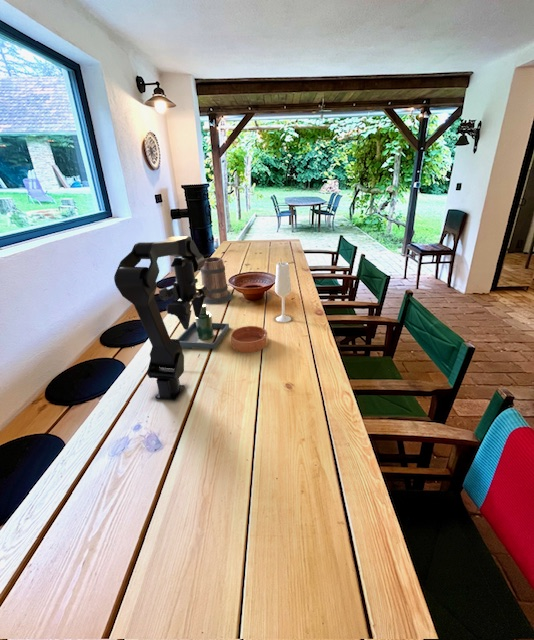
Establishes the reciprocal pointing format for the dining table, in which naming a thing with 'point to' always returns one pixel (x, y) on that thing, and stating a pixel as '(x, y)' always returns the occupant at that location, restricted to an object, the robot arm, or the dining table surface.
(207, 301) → the tankard
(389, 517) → the dining table surface
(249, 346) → the bowl
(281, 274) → the champagne flute
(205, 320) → the bottle
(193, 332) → the tray
